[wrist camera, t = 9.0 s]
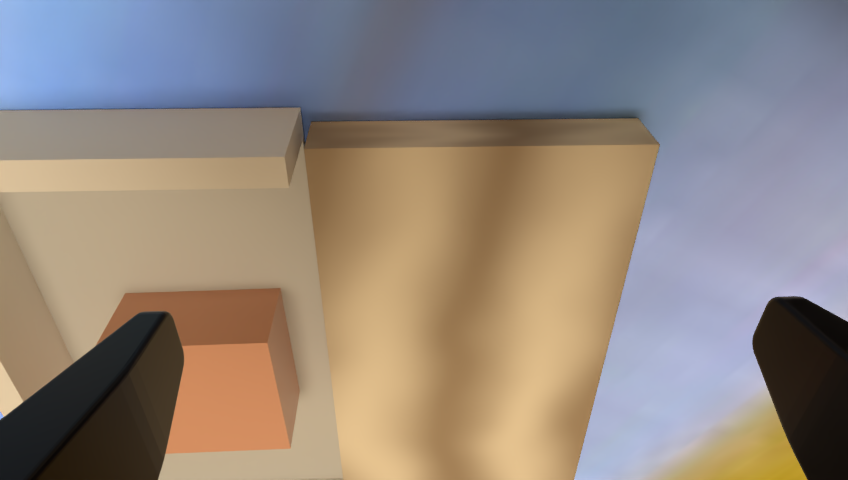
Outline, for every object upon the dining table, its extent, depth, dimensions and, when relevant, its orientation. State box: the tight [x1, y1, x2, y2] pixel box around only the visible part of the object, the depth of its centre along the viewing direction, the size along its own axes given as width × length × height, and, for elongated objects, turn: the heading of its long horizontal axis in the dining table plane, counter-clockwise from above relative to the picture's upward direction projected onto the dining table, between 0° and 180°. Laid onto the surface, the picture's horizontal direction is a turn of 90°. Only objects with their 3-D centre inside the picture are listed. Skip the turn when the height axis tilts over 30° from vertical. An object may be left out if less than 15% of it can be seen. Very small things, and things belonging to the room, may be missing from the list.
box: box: [0, 108, 343, 480], centre depth 24 cm, size 12×21×4 cm, turn 0°
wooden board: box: [304, 118, 660, 480], centre depth 25 cm, size 11×20×2 cm, turn 0°
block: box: [96, 288, 300, 454], centre depth 24 cm, size 6×6×3 cm
